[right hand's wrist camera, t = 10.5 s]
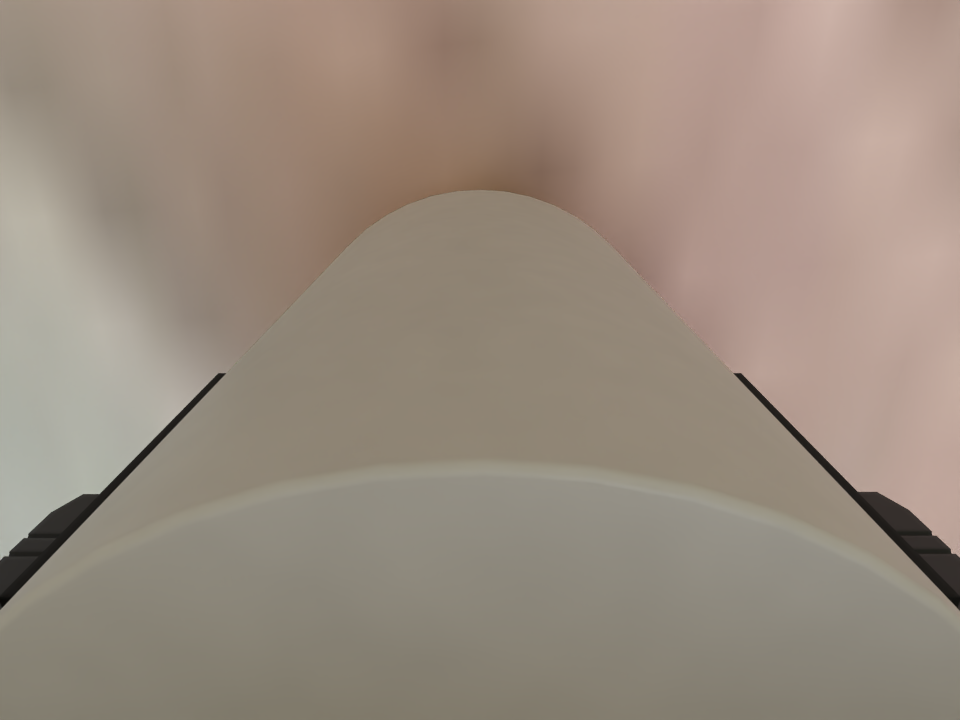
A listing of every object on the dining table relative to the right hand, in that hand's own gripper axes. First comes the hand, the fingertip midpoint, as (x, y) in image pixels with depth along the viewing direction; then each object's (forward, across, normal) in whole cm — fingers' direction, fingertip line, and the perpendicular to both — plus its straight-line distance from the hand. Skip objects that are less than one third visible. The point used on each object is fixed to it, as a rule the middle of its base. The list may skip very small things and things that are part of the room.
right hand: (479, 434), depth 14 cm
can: (+4, 0, 0) cm, 4 cm away
